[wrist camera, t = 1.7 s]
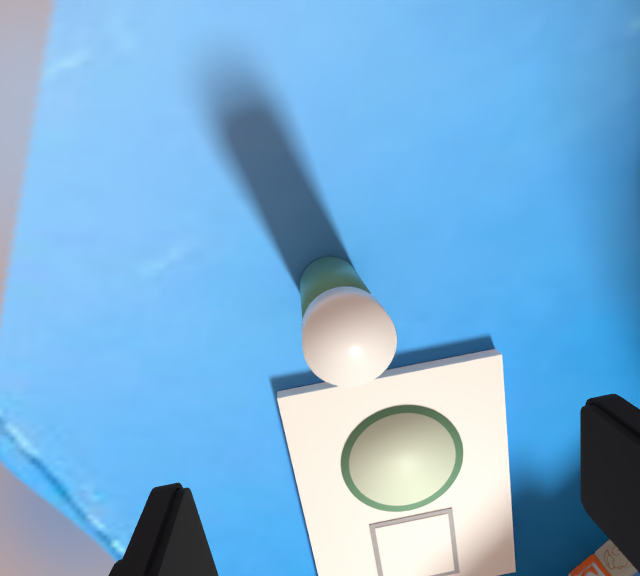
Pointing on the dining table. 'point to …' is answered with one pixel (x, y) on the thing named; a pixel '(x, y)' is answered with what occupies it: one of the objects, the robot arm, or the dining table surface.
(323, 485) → the activity sheet
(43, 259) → the dining table surface
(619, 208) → the dining table surface
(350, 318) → the marker
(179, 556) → the robot arm
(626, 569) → the stack of blocks
